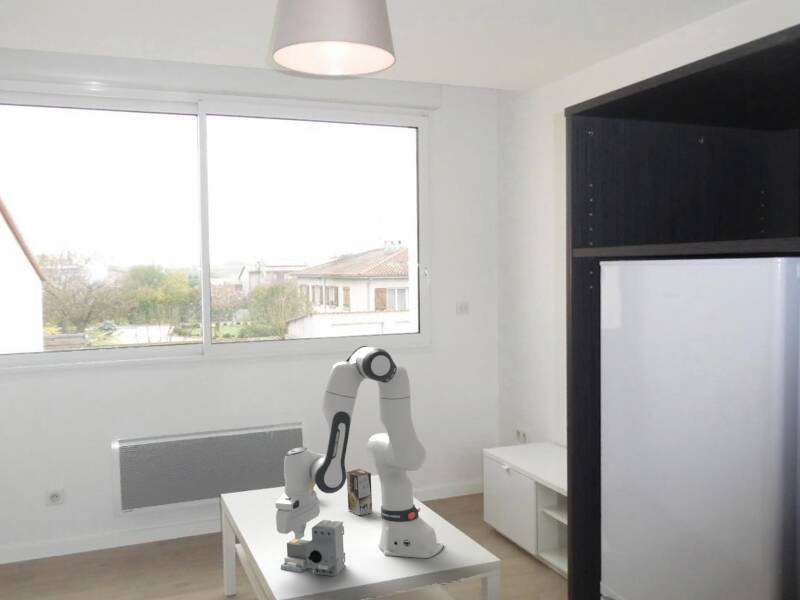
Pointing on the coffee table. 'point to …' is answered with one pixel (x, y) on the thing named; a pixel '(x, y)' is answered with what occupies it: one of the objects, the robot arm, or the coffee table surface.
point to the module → (297, 549)
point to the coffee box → (359, 491)
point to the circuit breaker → (326, 548)
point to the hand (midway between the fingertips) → (299, 537)
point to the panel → (294, 564)
